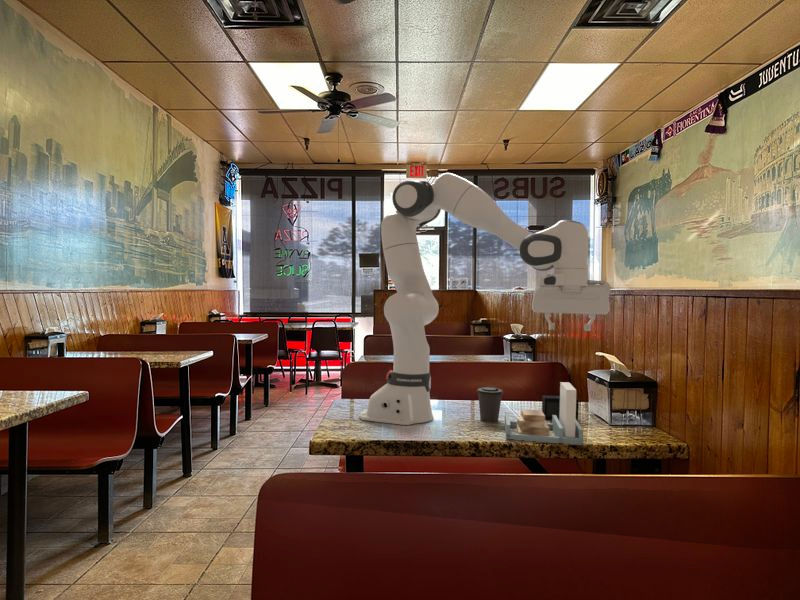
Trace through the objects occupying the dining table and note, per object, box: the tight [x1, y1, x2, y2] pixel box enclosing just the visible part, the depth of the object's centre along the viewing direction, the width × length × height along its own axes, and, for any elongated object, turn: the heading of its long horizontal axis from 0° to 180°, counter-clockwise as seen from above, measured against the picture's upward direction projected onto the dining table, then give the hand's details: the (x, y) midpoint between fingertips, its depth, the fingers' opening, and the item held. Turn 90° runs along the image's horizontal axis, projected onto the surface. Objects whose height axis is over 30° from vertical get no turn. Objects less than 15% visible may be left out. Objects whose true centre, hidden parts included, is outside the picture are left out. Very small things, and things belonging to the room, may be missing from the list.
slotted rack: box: [504, 411, 584, 446], centre depth 142 cm, size 20×15×4 cm
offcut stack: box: [515, 408, 550, 436], centre depth 142 cm, size 8×10×6 cm
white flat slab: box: [559, 381, 577, 438], centre depth 140 cm, size 2×12×14 cm, turn 170°
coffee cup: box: [476, 386, 504, 423], centre depth 157 cm, size 8×8×10 cm
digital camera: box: [541, 395, 580, 422], centre depth 160 cm, size 10×5×7 cm, turn 85°
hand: (569, 330), depth 140 cm, fingers open, 8 cm apart
